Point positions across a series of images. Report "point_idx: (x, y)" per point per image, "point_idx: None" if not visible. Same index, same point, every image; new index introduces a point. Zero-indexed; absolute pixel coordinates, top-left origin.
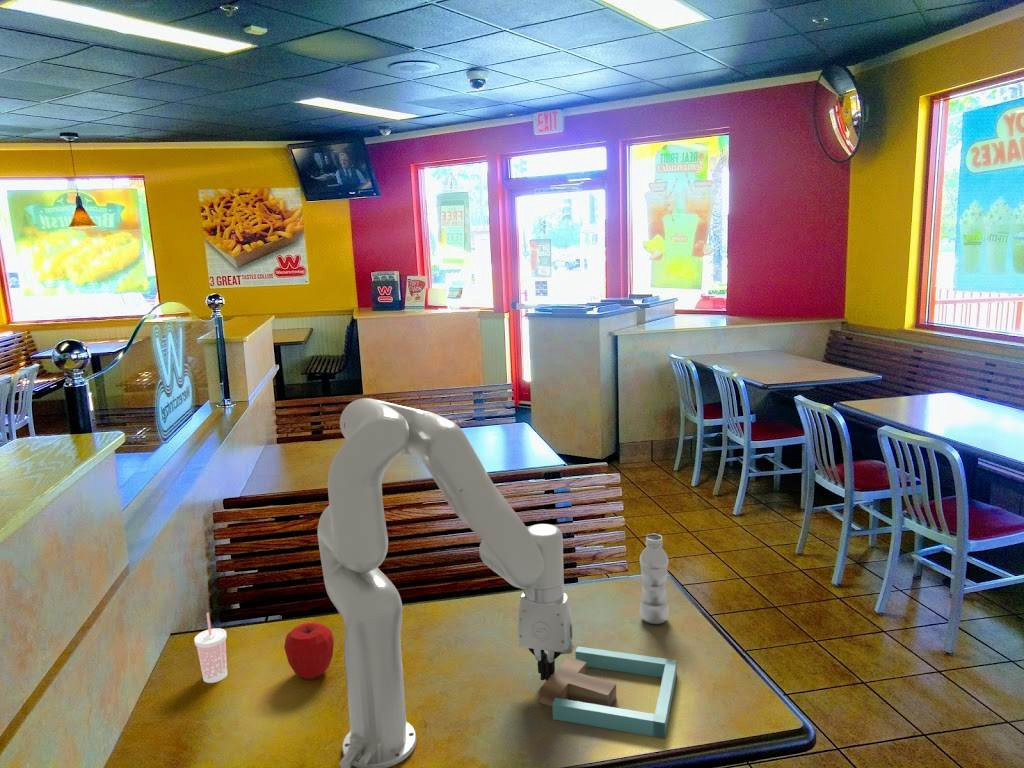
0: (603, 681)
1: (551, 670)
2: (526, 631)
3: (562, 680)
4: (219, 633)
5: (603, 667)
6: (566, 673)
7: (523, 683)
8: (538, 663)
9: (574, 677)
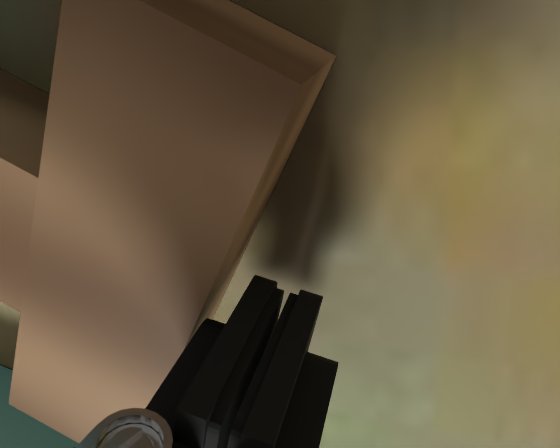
0: None
1: (198, 348)
2: None
3: (98, 222)
4: None
5: (11, 378)
6: (93, 311)
7: (477, 319)
8: (311, 441)
9: (20, 255)
